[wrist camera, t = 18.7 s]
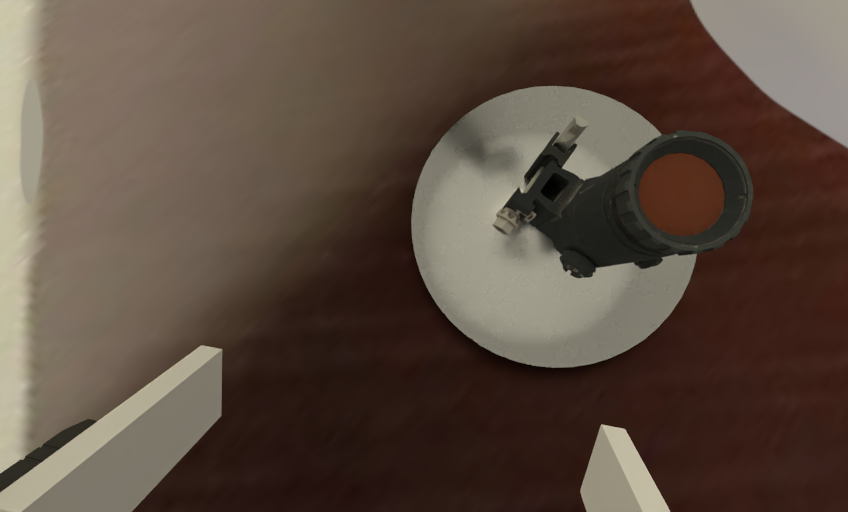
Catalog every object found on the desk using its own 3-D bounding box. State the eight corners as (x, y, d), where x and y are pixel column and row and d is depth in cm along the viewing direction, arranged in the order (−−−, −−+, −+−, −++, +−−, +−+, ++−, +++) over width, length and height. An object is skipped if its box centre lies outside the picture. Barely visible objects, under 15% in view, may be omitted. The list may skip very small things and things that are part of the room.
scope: (624, 37, 18) (824, 163, 17) (543, 147, 32) (652, 220, 31) (519, 184, 18) (719, 320, 17) (483, 231, 31) (592, 307, 31)
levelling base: (417, 104, 36) (415, 84, 33) (669, 107, 35) (695, 87, 32) (409, 355, 34) (406, 362, 31) (675, 364, 33) (703, 372, 30)
